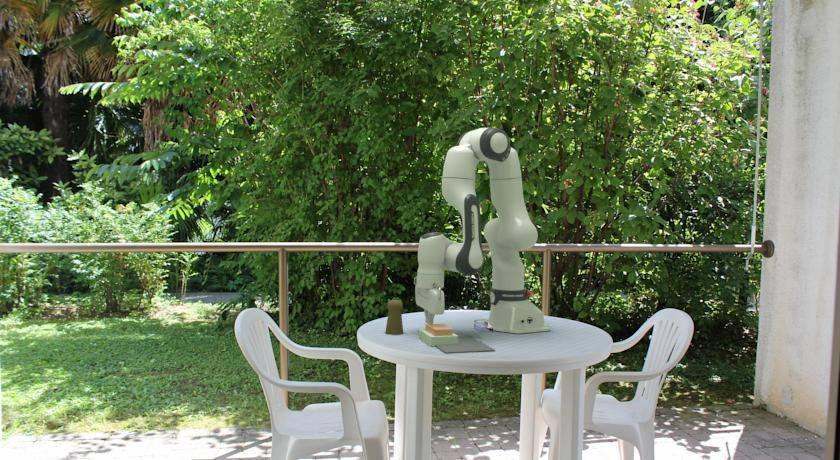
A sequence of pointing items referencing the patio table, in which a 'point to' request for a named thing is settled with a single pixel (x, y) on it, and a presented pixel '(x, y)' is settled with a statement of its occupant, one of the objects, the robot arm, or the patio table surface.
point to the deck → (437, 338)
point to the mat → (465, 346)
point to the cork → (394, 318)
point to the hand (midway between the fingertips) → (429, 323)
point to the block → (439, 330)
